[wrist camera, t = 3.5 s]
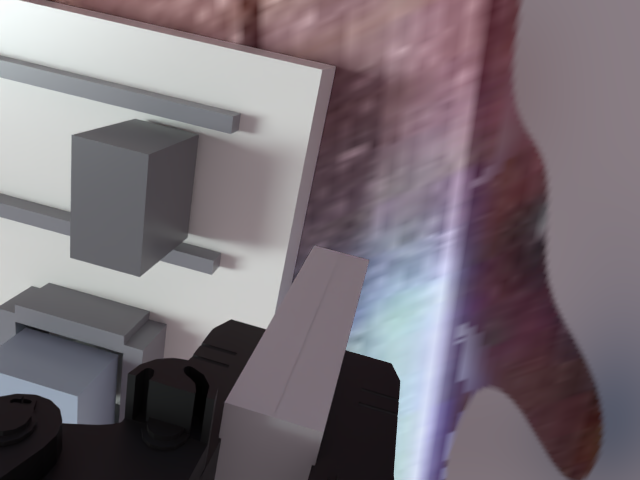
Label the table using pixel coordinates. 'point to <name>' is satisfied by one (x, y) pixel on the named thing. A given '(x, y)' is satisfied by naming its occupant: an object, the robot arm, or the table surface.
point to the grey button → (61, 375)
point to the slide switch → (130, 194)
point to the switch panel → (208, 189)
